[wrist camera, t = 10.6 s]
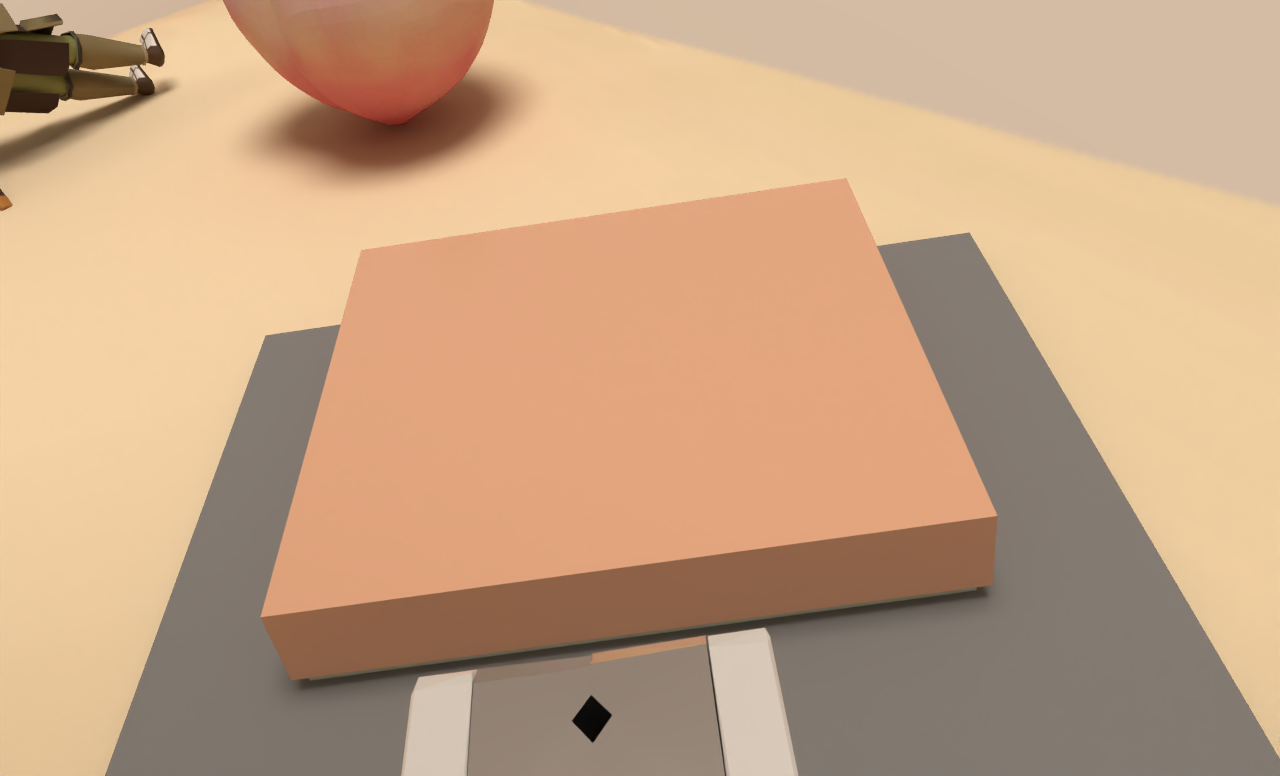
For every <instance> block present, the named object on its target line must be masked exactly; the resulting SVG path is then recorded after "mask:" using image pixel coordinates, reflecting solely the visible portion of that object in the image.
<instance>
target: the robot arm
mask: <svg viewBox="0 0 1280 776" xmlns="http://www.w3.org/2000/svg"><path fill="white" fill-rule="evenodd" d="M708 649H709V652H708ZM709 656H710V658H709ZM710 662H711V664H710ZM711 669H712V670H711ZM712 675H713V676H712ZM401 776H798V771H797V766H796V761H795V756H794V751H793V746H792V741H791V736H790V732H789V727H788V722H787V717H786V712H785V707H784V702H783V697H782V692H781V687H780V682H779V677H778V673H777V668H776V663H775V658H774V653H773V648H772V643H771V638H770V636H769V634H768V632H767V630H766V628H759V629H753V630H746V631H739V632H732V633H725V634H719V635H712V636H708V646H707V641H706V635H705V636H699V637H693V638H687V639H680V640H674V641H668V642H661V643H655V644H649V645H642V646H636V647H630V648H623V649H617V650H611V651H605V652H598V653H592V655H591V656H583V657H575V658H566V659H558V660H550V661H541V662H533V663H524V664H516V665H508V666H499V667H491V668H483V669H477V670H470V671H463V672H455V673H447V674H440V675H432V676H424V677H419V678H418V680H417V683H416V685H415V687H414V690H413V692H412V694H411V700H410V709H409V717H408V725H407V733H406V741H405V749H404V758H403V766H402V774H401Z"/></svg>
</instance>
